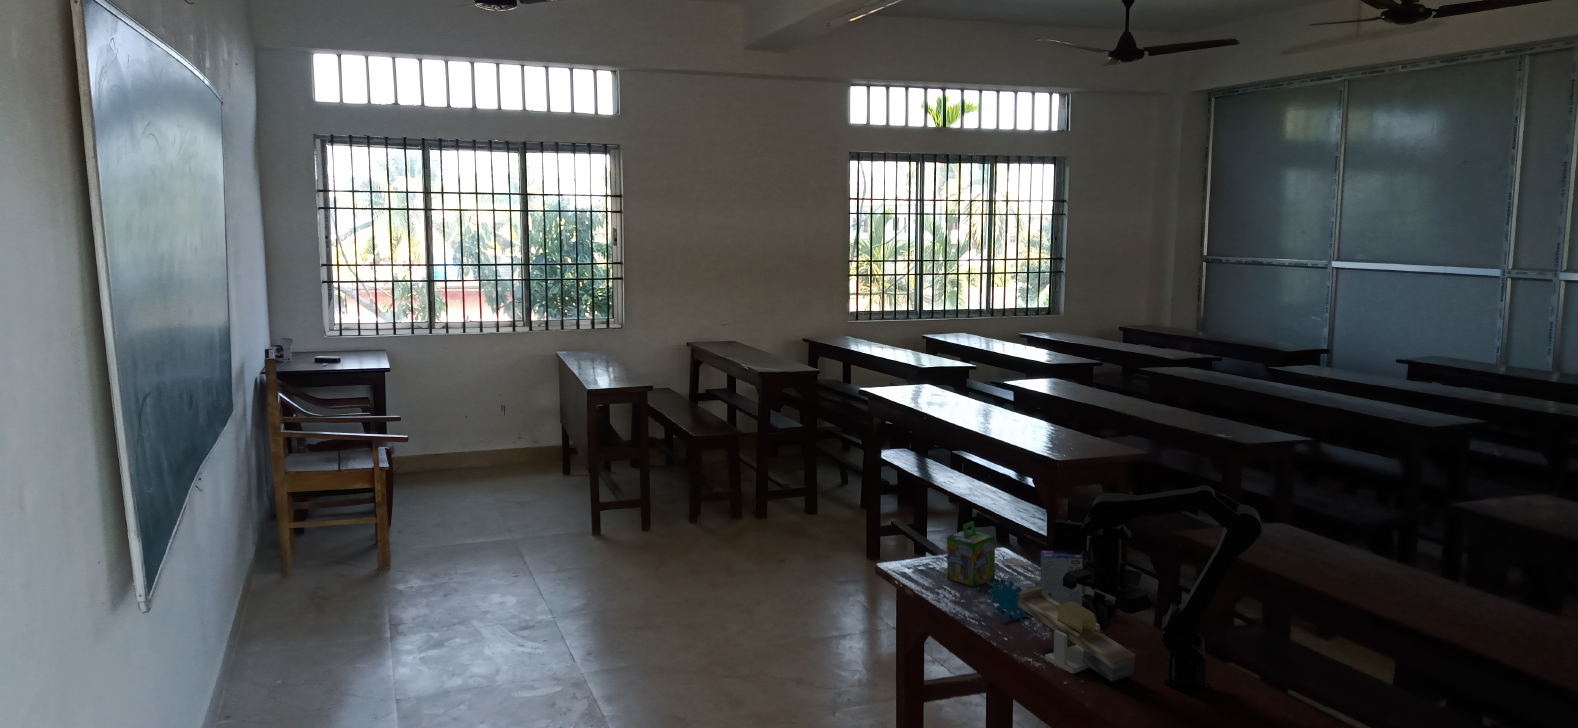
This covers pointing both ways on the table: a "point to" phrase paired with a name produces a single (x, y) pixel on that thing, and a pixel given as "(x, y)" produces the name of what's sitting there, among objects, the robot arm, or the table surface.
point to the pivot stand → (1066, 654)
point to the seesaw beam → (1097, 646)
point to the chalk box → (970, 556)
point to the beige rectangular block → (1077, 618)
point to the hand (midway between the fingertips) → (1104, 630)
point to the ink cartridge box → (1060, 576)
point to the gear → (1006, 599)
